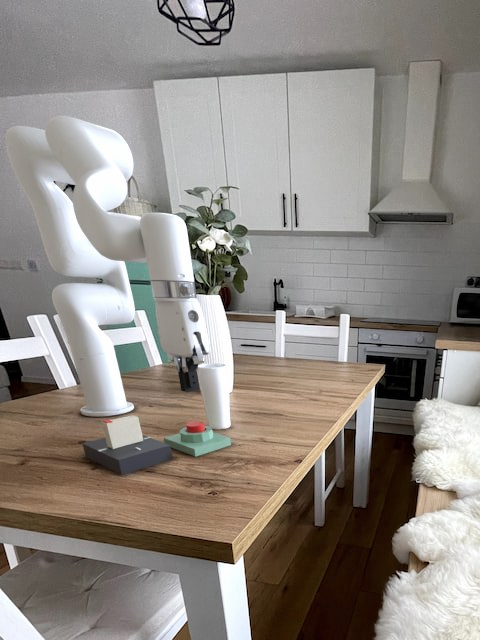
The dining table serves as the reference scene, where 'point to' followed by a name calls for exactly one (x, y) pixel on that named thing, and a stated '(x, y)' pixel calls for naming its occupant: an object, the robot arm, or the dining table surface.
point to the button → (195, 427)
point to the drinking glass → (215, 394)
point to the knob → (122, 431)
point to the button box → (197, 441)
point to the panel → (128, 454)
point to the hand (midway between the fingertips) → (190, 390)
